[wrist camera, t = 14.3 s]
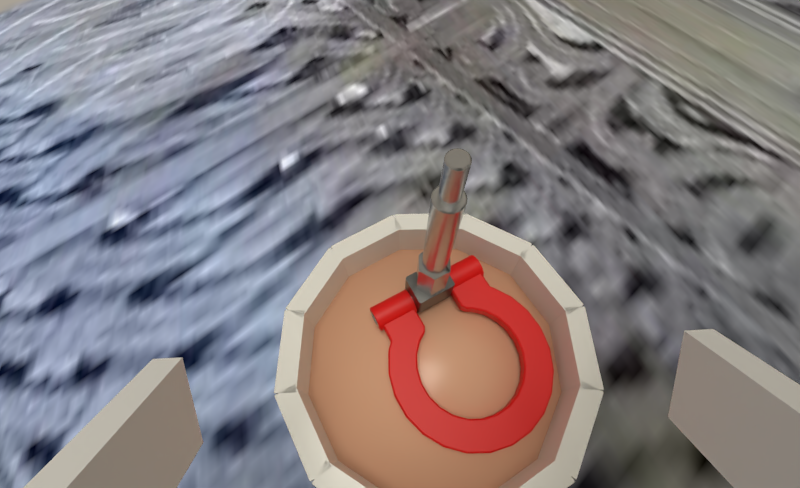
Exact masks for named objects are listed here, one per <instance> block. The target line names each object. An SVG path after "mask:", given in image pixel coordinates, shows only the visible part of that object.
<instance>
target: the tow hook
mask: <svg viewBox="0 0 800 488" xmlns="http://www.w3.org/2000/svg"><path fill="white" fill-rule="evenodd" d="M471 163H472V158H471V156H470V154H469V153H468V152H467V151H465V150H463V149H458V148H456V149H452V150H450V151H448V152H447V153H446V155H445V157H444V163H443V169H442V174H441V180H440V185H439V186H438V187H436V188H435V189H434V190H433V192H432V196H431V202H430V209H429V216H428V223H427V230H426V236H425V243H424V250H423V252H422V253H420V254H419V257H418V265H417V272H415V273H413V274H411V275H409V276H407V277H406V281H405V290H403V291H401V292H399V293H397V294H395V295H394V296H392V297H390V298H388V299H386V300H384V301H382V302H380V303H378V304H376V305H374V306H372V307H370V312H371V315H372V317H373V319H374V321H375V323H376V325H377V327H378V328H379V329H380V330H381V331H382V330H385V332H386V334H387V336H388V338H389V340H390V342H391V343H390V347H389V351H388V372H389V378H390V382H391V385H392V389H393V393H394V397H395V399H396V400H397V402H398V404H399V406H400V408H401V409H402V411H403V413H404V415H405V417H406V418H407V419H408V420H409V421H410V422H411V423H412V424H413V425H414V426H415V427H416V428H417V429H418V430H419V431H420V432H421V434H422V435H424V436H426V437H427V438H429V439H431V440H432V441H434V442H436V443H437V444H439V445H441V446H442V447H445V448H448V449H452V450H456V451H459V452H463V453H467V454H473V453H492V452H495V451H498V450H501V449H504V448H507V447H510V446H513V445H514V444H516V443H517V442H518V441H520V440H521V439H522V438H524V437H525V436H526V435H528V434H529V433H531V431H532V430H533V429H534V427H535V426H536V425H537V423H538V422H539V421H540V419H541V418H542V417H543V415H544V414H545V411H546V408H547V406H548V403H549V400H550V397H551V395H552V388H553V376H554V368H553V362H552V356H551V351H550V347H549V345H548V342H547V340H546V338H545V335H544V333H543V331H542V329H541V327H540V326H539V324H538V323H537V322H536V320H535V319H534V318H533V316H532V315H531V314H530V312H529V311H528V310H527V309H526V308H525V307H523V306H522V305H521V304H520V303H519V302H517V301H516V300H515V299H514V298H513V297H511V296H509V295H507V294H505V293H503V292H501V291H499V290H497V289H495V288H493V287H490V285H489V284H488V282H487V281H486V279H485V278H484V271H483V268H482V266H481V264H480V262H479V261H478V259H477V258H476V257H475V256H473V255H470V256H468V257H467V258H465V259H463V260H461V261H459V262H457V263H455V264H453V265H450V256H451V252H452V249H453V246H454V243H455V239H456V236H457V233H458V230H459V227H460V223H461V220H462V217H463V214H464V211H465V207H466V204H467V195H466V193H465V191H464V188H465V184H466V181H467V177H468V174H469V170H470V166H471ZM450 295H451V296H452V298H453V299H454V301H455V303H456V304H457V306H458V307H459V309H460V310H462V311H464V312H474V313H478V314H482V315H485V316H487V317H489V318H490V319H492V320H494V321H496V322H497V323H498V324H499V325H500V326H502V327H503V328H504V329H505V330H506V331H507V333H508V334H509V336H510V337H511V338H512V340H513V341H514V344H515V346H516V348H517V351H518V353H519V359H520V366H521V372H520V381H519V384H518V387H517V389H516V392H515V394H514V396H513V397H512V399H511V400H510V401H509V403H508V404H507V405H506V406H505V407H504V408H502V409H501V410H500V411H498V412H497V413H495V414H494V415H491V416H487V417H484V418H481V419H467V418H463V417H460V416H456V415H453V414H451V413H450V412H448V411H446V410H444V409H443V408H441V407H440V406H439V405H438V404H437V403H436V402H435V401H434V400H433V399H432V398H431V397H430V396H429V394H428V393H427V391H426V389H425V388H424V386H423V384H422V382H421V378H420V375H419V372H418V363H417V353H418V349H419V344H420V341H421V340H422V338H423V336H424V334H425V326H424V324H423V322H422V320H421V319H420V317H419V315H418V313H420V312H422V311H424V310H426V309H428V308H430V307H432V306H433V305H435V304H437V303H439V302H441V301H443V300H445V299H446V298H448V297H450Z"/></svg>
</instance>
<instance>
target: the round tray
mask: <svg viewBox="0 0 800 488" xmlns="http://www.w3.org/2000/svg"><path fill="white" fill-rule="evenodd" d="M428 216H429V214H395V217H394V215H392V216H390V217H388V218H386V219H384V220H382V221H380V222H378V223H376V224H374V225H372V226H370V227H368V228H366V229H364V230H362V231H360V232H358V233H356V234H354V235H352V236H350V237H348V238H346V239H344V240H342V241H341V242H339V243H337V244H335V245H333V246H331V248H332V249H331V248H329V249H328V250H327V252H326V253H325V254H324V256H323V257H322V259H321V260H320V261H319V263H318V264H317V265H316V267H315V268H314V270H313V271H312V272H311V274H310V275H309V277H308V278H307V279H306V281H305V282H304V284H303V285H302V286H301V288H300V289H299V290H298V292H297V293H296V295H295V296H294V297H293V299H292V300H291V302H290V303H289V304H288V306H287V307H286V309H287V310H285V313H284V320H283V328H282V336H281V343H280V351H279V359H278V367H277V374H276V382H275V390H274V393H275V394H276V395H275V398H276V401H277V403H278V406H279V408H280V410H281V413H282V415H283V418H284V420H285V422H286V425H287V427H288V430H289V432H290V434H291V437H292V439H293V442H294V444H295V447H296V449H297V451H298V454H299V456H300V459H301V461H302V463H303V466H304V468H305V471H306V473H307V476H308V478H309V480H310V481H313V480H314V481H313V483H312V484H313V485H314V486H315V487H317V488H567V487H569V486H570V485H571V484H573V483H574V482H575V481H574V480H573V479H577V476H578V473H579V470H580V467H581V463H582V460H583V457H584V454H585V451H586V447H587V444H588V441H589V438H590V435H591V432H592V428H593V425H594V422H595V419H596V416H597V412H598V409H599V406H600V403H601V400H602V397H603V393H604V392H603V391H601V390H604V388H603V383H602V379H601V375H600V370H599V366H598V362H597V357H596V353H595V349H594V344H593V340H592V336H591V331H590V327H589V323H588V318H587V314H586V310H585V307H581V306H583V305H584V304H583V303H582V302H581V301H580V300H579V298H578V297H577V296H576V295H575V294H574V293H573V291H572V290H571V289H570V288H569V287H568V285H567V284H566V283H565V282H564V281H563V279H562V278H561V277H560V276H559V275H558V273H557V272H556V271H555V270H554V269H553V268H552V266H551V265H550V264H549V263H548V262H547V260H546V259H545V258H544V257H543V256H542V254H541V253H540V252H539V251H538V250H537V248H536V247H535V246H534V245H533V246H531V243H529V242H527V241H525V240H523V239H520V238H518V237H516V236H514V235H512V234H509V233H507V232H505V231H503V230H501V229H498V228H496V227H494V226H492V225H490V224H488V223H485V222H483V221H481V220H479V219H477V218H474V217H472V216H470V215H468V214H466V215H465V216H464V214H463V217H462V220H461V223H460V227H459V230H458V233H457V236H456V239H455V243H454V246H453V249H452V252H451V256H450V265H453V264H455V263H457V262H459V261H461V260H463V259H465V258H467V257H468V256H470V255H473V256H475V257H476V258H477V259H478V261H479V262H480V264H481V266H482V268H483V271H484V278H485V279H486V281H487V282H488V284H489V285H490V287H493V288H495V289H497V290H499V291H501V292H503V293H505V294H507V295H509V296H511V297H513V298H514V299H515V300H516V301H517V302H519V303H520V304H521V305H522V306H523V307H525V308H526V309H527V310H528V311H529V312H530V314H531V315H532V316H533V318H534V319H535V320H536V322H537V323H538V324H539V326H540V327H541V329H542V331H543V333H544V335H545V338H546V340H547V342H548V345H549V347H550V351H551V356H552V362H553V368H554V376H553V388H552V395H551V397H550V400H549V403H548V406H547V408H546V411H545V414H544V415H543V417H542V418H541V419H540V421H539V422H538V423H537V425H536V426H535V427H534V429H533V430H532V431H531V433H529V434H528V435H526V436H525V437H524V438H522V439H521V440H520V441H518V442H517V443H516V444H514V445H513V446H510V447H507V448H504V449H501V450H498V451H495V452H492V453H473V454H467V453H463V452H459V451H456V450H452V449H448V448H445V447H442V446H441V445H439V444H437V443H436V442H434V441H432V440H431V439H429V438H427V437H426V436H424V435H422V434H421V432H420V431H419V430H418V429H417V428H416V427H415V426H414V425H413V424H412V423H411V422H410V421H409V420H408V419H407V418H406V417H405V415H404V413H403V411H402V409H401V408H400V406H399V404H398V402H397V400H396V399H395V397H394V393H393V389H392V385H391V382H390V378H389V372H388V351H389V347H390V343H391V342H390V340H389V338H388V336H387V334H386V332H385V330H382V331H381V330H380V329H379V328H378V327H377V325H376V323H375V321H374V319H373V317H372V315H371V312H370V307H372V306H374V305H376V304H378V303H380V302H382V301H384V300H386V299H388V298H390V297H392V296H394V295H395V294H397V293H399V292H401V291H403V290H405V281H406V277H407V276H409V275H411V274H413V273H415V272H417V265H418V257H419V254H420V253H422V252H423V250H424V243H425V236H426V230H427V223H428ZM418 315H419V317H420V319H421V320H422V322H423V324H424V326H425V334H424V336H423V338H422V340H421V341H420V344H419V349H418V353H417V363H418V372H419V375H420V378H421V382H422V384H423V386H424V388H425V389H426V391H427V393H428V394H429V396H430V397H431V398H432V399H433V400H434V401H435V402H436V403H437V404H438V405H439V406H440V407H441V408H443V409H444V410H446V411H448V412H450V413H451V414H453V415H456V416H460V417H463V418H467V419H481V418H484V417H487V416H491V415H494V414H495V413H497V412H498V411H500V410H501V409H502V408H504V407H505V406H506V405H507V404H508V403H509V401H510V400H511V399H512V397H513V396H514V394H515V392H516V389H517V387H518V384H519V381H520V372H521V366H520V359H519V353H518V351H517V348H516V346H515V344H514V341H513V340H512V338H511V337H510V336H509V334H508V333H507V331H506V330H505V329H504V328H503V327H502V326H500V325H499V324H498V323H497V322H496V321H494V320H492V319H490V318H489V317H487V316H485V315H482V314H478V313H474V312H464V311H462V310H460V309H459V307H458V306H457V304H456V303H455V301H454V299H453V298H452V296H451V295H450V297H448V298H446V299H445V300H443V301H441V302H439V303H437V304H435V305H433V306H432V307H430V308H428V309H426V310H424V311H422V312H420V313H418Z"/></svg>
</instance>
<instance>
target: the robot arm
mask: <svg viewBox="0 0 800 488" xmlns="http://www.w3.org/2000/svg"><path fill="white" fill-rule="evenodd" d="M668 418H669V419H670V420H671V421H672V422H673V423H674V424H675V425H676V426H677V427H678V428H679V430H680V431H681V432H682V433H683V434H684V435H685V436H686V437H687V438H688V439H689V440H690V441H691V442H692V443H693V445H694V446H695V447H696V448H697V449H698V450H699V451H700V452H701V453H702V454H703V455H704V456H705V457H706V458H707V460H708V461H709V462H710V463H711V464H712V465H713V466H714V467H715V468H716V469H717V470H718V471H719V472H720V473H721V475H722V476H723V477H724V478H725V479H726V480H727V481H728V482H729V483H730V484H731V485H732V486H733V487H734V488H800V385H799V384H798V383H796V382H795V381H793V380H791V379H790V378H788V377H787V376H785V375H784V374H782V373H781V372H779V371H777V370H776V369H774V368H773V367H771V366H770V365H768V364H767V363H765V362H764V361H762V360H760V359H759V358H757V357H756V356H754V355H753V354H751V353H750V352H748V351H747V350H745V349H743V348H742V347H740V346H739V345H737V344H736V343H734V342H733V341H731V340H730V339H728V338H726V337H725V336H723V335H722V334H720V333H719V332H717V331H716V330H714V329H705V330H686V331H684V335H683V340H682V345H681V351H680V356H679V361H678V367H677V372H676V377H675V383H674V388H673V394H672V399H671V404H670V410H669V415H668ZM202 444H203V440H202V436H201V432H200V428H199V424H198V420H197V415H196V411H195V407H194V403H193V399H192V395H191V391H190V387H189V383H188V379H187V375H186V371H185V367H184V363H183V358H164V359H152V360H151V361H150V362H149V363H148V364H147V365H146V366H145V367H144V368H143V369H142V370H141V371H140V372H139V373H138V374H137V375H136V376H135V377H134V378H133V379H132V380H131V381H130V382H129V383H128V384H127V385H126V386H125V387H124V388H123V389H122V390H121V391H120V392H119V393H118V394H117V395H116V396H115V397H114V398H113V399H112V400H111V401H110V402H109V403H108V404H107V405H106V406H105V407H104V408H103V409H102V410H101V411H100V412H99V413H98V414H97V415H96V416H95V417H94V418H93V419H92V420H91V421H90V422H89V423H88V424H87V425H86V426H85V427H84V428H83V429H82V430H81V431H80V432H79V433H78V434H77V435H76V436H75V437H74V438H73V439H72V440H71V441H70V442H69V443H68V444H67V445H66V446H65V447H64V448H63V449H62V450H61V451H60V452H59V453H58V454H57V455H56V456H55V457H54V458H53V459H52V460H51V461H50V462H49V463H48V464H47V465H46V466H45V467H44V468H43V469H42V470H41V471H40V472H39V473H38V474H37V475H36V476H35V477H34V478H33V479H32V480H31V481H30V482H29V483H28V484H27V485H26V486H25V487H24V488H177V486H178V485H179V483H180V481H181V479H182V478H183V476H184V474H185V473H186V471H187V469H188V468H189V466H190V464H191V462H192V461H193V459H194V457H195V456H196V454H197V452H198V451H199V449H200V447H201V445H202Z"/></svg>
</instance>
